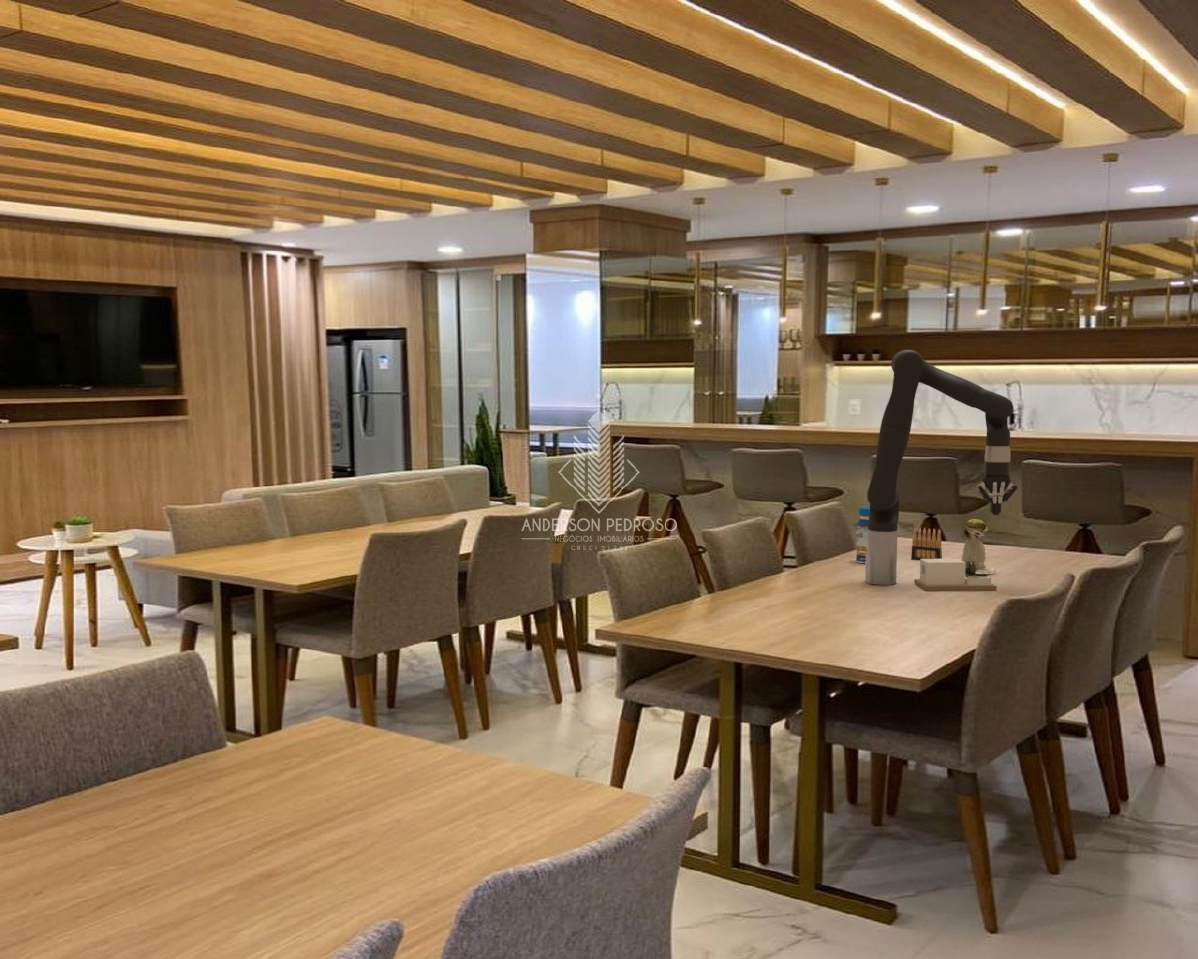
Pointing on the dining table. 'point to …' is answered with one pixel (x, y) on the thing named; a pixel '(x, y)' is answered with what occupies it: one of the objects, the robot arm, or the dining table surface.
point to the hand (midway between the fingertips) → (995, 514)
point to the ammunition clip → (926, 545)
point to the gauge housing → (950, 577)
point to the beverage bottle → (862, 534)
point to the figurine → (976, 546)
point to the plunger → (970, 569)
